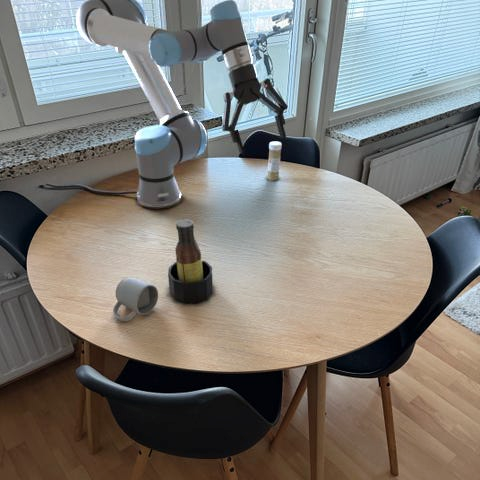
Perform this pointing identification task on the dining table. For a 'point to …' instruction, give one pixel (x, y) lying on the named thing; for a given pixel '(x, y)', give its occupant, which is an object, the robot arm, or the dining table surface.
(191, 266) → the sauce bottle
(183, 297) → the cup
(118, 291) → the ceramic mug
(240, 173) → the dining table surface
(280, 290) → the dining table surface
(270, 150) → the sprinkles bottle
